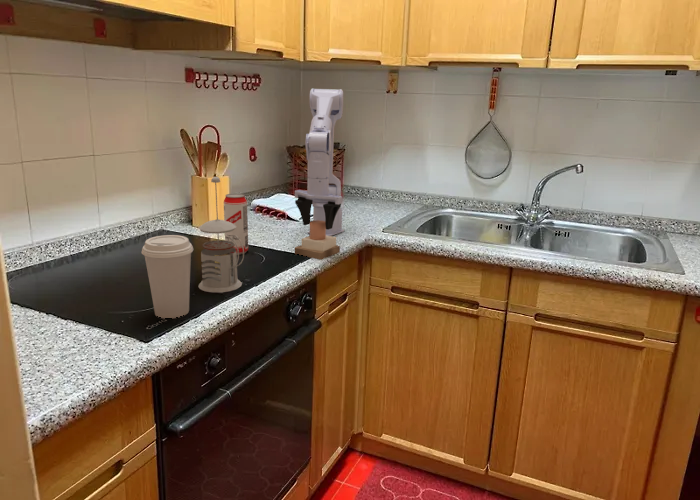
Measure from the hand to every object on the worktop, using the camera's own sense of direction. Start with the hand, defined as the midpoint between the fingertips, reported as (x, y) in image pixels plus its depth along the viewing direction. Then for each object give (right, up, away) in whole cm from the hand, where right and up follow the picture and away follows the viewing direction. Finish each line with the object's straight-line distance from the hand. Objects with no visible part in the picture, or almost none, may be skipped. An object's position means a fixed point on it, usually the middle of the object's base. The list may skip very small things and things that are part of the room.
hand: (317, 226), depth 147 cm
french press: (-20, -15, -24) cm, 35 cm away
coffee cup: (-27, -19, -40) cm, 52 cm away
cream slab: (0, -6, +2) cm, 6 cm away
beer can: (-22, -7, +1) cm, 24 cm away
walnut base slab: (0, -8, +2) cm, 8 cm away
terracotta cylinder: (0, -3, +1) cm, 3 cm away
